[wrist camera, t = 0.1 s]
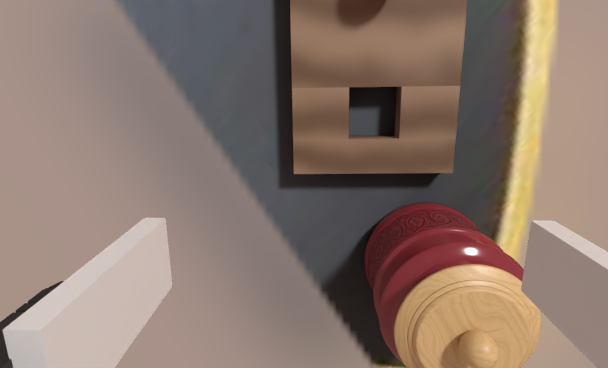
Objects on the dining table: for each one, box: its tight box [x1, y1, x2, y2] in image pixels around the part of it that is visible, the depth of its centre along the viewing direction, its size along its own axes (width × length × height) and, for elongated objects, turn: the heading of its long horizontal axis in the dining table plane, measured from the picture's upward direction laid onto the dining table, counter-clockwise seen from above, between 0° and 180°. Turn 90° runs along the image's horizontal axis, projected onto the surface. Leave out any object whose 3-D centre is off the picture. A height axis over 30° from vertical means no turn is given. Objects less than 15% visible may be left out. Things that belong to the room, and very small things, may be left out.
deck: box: [290, 0, 467, 174], centre depth 37 cm, size 24×16×2 cm, turn 1°
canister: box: [364, 202, 541, 368], centre depth 35 cm, size 13×13×18 cm
